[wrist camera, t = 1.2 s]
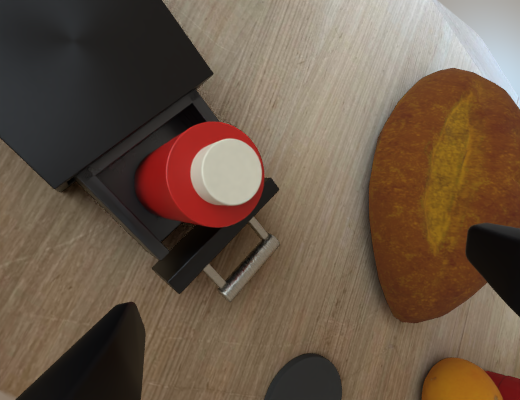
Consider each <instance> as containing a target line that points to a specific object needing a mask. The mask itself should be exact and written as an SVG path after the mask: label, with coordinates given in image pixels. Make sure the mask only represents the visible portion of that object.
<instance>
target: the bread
mask: <svg viewBox="0 0 520 400" xmlns="http://www.w3.org/2000/svg"><path fill="white" fill-rule="evenodd" d="M369 220H370V228H371V236H372V243H373V251H374V256H375V261H376V267H377V272H378V278H379V281H380V284H381V287H382V290H383V293H384V295H385V298H386V301H387V303H388V305H389V307H390V309H391V312H392V314H393V316H394V317H396V318H397V319H399V320H400V321H401V322H408V323H418V322H422V321H426V320H430V319H434V318H438V317H441V316H443V315H445V314H447V313H449V312H450V311H452V310H453V309H455V308H456V307H458V306H459V305H461V304H462V303H464V302H465V301H466V300H468V299H469V298H470V297H471V296H473V295H474V294H475V293H476V292H477V291H478V290H480V289H481V288H482V287H483V286H484V285H485V284H486V283H487V281H486V280H485V279H484V278H483V277H482V275H481V274H480V273H479V272H478V271H477V270H476V269H475V268H474V266H473V265H472V264H471V263H470V262H469V261H468V259H467V257H466V253H465V249H466V241H467V233H468V229H469V228H470V227H471V226H472V225H476V224H481V223H492V224H497V225H503V226H509V227H514V228H520V109H519V108H518V106H517V105H516V104H515V102H514V101H513V99H512V98H511V97H510V96H509V94H508V93H507V92H506V91H505V90H504V89H503V88H501V87H499V86H498V85H496V84H495V83H493V82H491V81H489V80H487V79H485V78H483V77H481V76H479V75H477V74H475V73H473V72H469V71H465V70H460V69H456V68H450V69H445V70H440V71H437V72H435V73H432V74H430V75H427V76H425V77H423V78H422V79H421V80H419V81H418V82H417V83H416V84H415V85H414V86H413V87H412V88H411V89H410V90H409V91H408V92H407V93H406V94H405V95H404V96H403V97H402V98H401V100H400V101H399V102H398V103H397V105H396V107H395V108H394V110H393V112H392V113H391V115H390V117H389V118H388V120H387V122H386V123H385V125H384V127H383V129H382V131H381V133H380V135H379V137H378V141H377V145H376V150H375V155H374V161H373V166H372V172H371V178H370V183H369Z"/></svg>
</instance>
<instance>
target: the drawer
mask: <svg viewBox="0 0 520 400" xmlns="http://www.w3.org/2000/svg"><path fill="white" fill-rule="evenodd" d="M203 122H219V120H218V119H217V118H216V116H215V115H214V114H213V112H212V111H211V109H210V108H209V107H208V105H207V104H206V103H205V101H204V100H203V99H202V97H201V96H200V95H199V93H198V92H197V91H196V89H193V90H192V91H191V92H189V93H188V94H187V95H185V96H184V97H182V98H181V99H180V100H178V101H177V102H176V103H174V104H173V105H171V106H170V107H169V108H167V109H166V110H165V111H163V112H162V113H160V114H159V115H158V116H156V117H155V118H154V119H152V120H151V121H149V122H148V123H147V124H145V125H144V126H143V127H141V128H140V129H138V130H137V131H136V132H134V133H133V134H132V135H130V136H129V137H128V138H126V139H125V140H123V141H122V142H121V143H119V144H118V145H117V146H115V147H114V148H112V149H111V150H110V151H108V152H107V153H106V154H104V155H103V156H101V157H100V158H99V159H97V160H96V161H95V162H93V163H92V164H90V165H89V166H88V167H86V168H85V169H84V170H82V171H81V172H79V173H78V174H77V175H75V176H74V179H75V180H76V181H77V182H78V183H79V184H80V185H81V186H82V187H83V188H84V189H85V190H86V191H87V192H88V193H89V194H90V195H91V196H92V197H93V198H94V199H95V200H96V201H97V202H98V203H99V204H100V205H101V206H102V207H103V208H104V209H105V210H106V211H107V212H108V213H109V214H110V215H111V216H112V217H113V218H114V219H115V220H116V221H117V222H118V223H119V224H120V225H121V226H122V227H123V228H124V229H125V230H126V231H127V232H128V233H129V234H130V235H131V236H132V237H133V238H134V239H135V240H136V241H137V242H138V243H139V244H140V245H141V246H142V247H143V248H144V249H145V250H146V251H147V252H148V253H150V254H151V255H153V256H154V257H156V258H157V259H158V260H160V261H159V262H158V263H156V264H155V265H154V266H153V267H152V269H153V270H154V271H155V272H156V273H157V274H158V275H159V276H160V277H161V278H162V279H163V280H164V281H165V282H166V283H167V284H169V285H170V286H171V287H172V288H173V289H174V290H175V291H176V292H177V293H178V294H180V293H181V292H182V291H183V290H184V289H185V288H186V287H187V286H188V285H189V284H190V283H191V282H192V281H193V280H194V279H195V278H196V277H197V276H198V275H199V273H200V272H201V271H202V270H203V271H204V272H205V273H206V274H207V276H208V277H209V278H210V279H211V280H212V281H213V282H214V283H215V284H216V285H217V286H218V287H219V288H218V289H217V290H218V292H219V293H220V294H221V295H222V296H223V297H224V298H225V299H226V300H227V301H229V302H231V301H232V300H233V299H234V298H235V297H236V296H237V295H238V293H239V292H240V291H241V290H242V289H243V288H244V286H245V285H246V284H247V283H248V282H249V281H250V279H251V278H252V277H253V276H254V275H255V274H256V272H257V271H258V270H259V269H260V268H261V267H262V265H263V264H264V263H265V262H266V261H267V260H268V258H269V257H270V256H271V255H272V254H273V253H274V252H275V250H276V249H277V248H278V247H279V246H280V242H279V241H278V239H277V238H276V237H275V236H273V235H272V234H269V233H267V232H266V231H265V229H264V228H263V227H262V226H261V224H260V223H259V222H258V221H257V219H256V218H255V217H254V216H255V215H256V214H257V213H258V211H259V210H260V209H261V208H262V207H263V206H264V205H265V204H266V203H267V202H268V201H269V200H270V199H271V198H272V197H273V196H274V195H275V194H276V193H277V192H278V190H279V188H278V187H277V185H276V184H275V183H274V181H273V180H272V178H264V187H263V191H262V194H261V197H260V199H259V201H258V203H257V205H256V206H255V208H254V209H253V210H252V212H251V213H250V214H249V215H248V216H247V217H246V218H244V219H243V220H241V221H240V222H238V223H236V224H233V225H230V226H227V227H219V228H214V227H207V226H202V225H196V226H195V227H194V228H193V229H192V230H191V231H190V232H189V233H188V234H187V235H186V236H185V237H183V238H182V239H181V240H180V241H179V242H178V243H177V244H176V245H175V246H174V247H173V248H172V249H171V250H170V251H169V250H168V249H167V248H166V247H165V246H164V245H163V244H162V243H161V241H163V240H164V239H165V238H166V237H167V236H168V235H169V234H170V233H171V232H172V231H173V230H174V229H175V228H176V227H178V226H179V225H180V224H181V223H182V222H181V221H176V220H171V219H166V218H161V217H158V216H156V215H154V214H152V213H150V212H149V211H147V210H146V209H145V208H144V207H143V205H142V204H141V203H140V201H139V200H138V198H137V195H136V192H135V188H134V177H135V173H136V170H137V167H138V165H139V164H140V162H141V161H142V160H143V159H144V158H145V157H146V156H147V155H148V154H150V153H151V152H153V151H155V150H156V149H158V148H159V147H161V146H162V145H164V144H165V143H167V142H168V141H170V140H172V139H173V138H175V137H176V136H178V135H179V134H181V133H182V132H184V131H185V130H187V129H189V128H190V127H192V126H194V125H196V124H200V123H203ZM247 223H248V224H249V225H250V226H251V228H252V229H253V230H254V231H255V233H256V234H257V235H258V236H259V238H260V239H262V240H261V241H260V242H259V243H258V245H257V246H256V247H255V248H254V249H253V250H252V251H251V252H250V253H249V255H248V256H247V257H246V258H245V259H244V260H243V261H242V262H241V263H240V265H239V266H238V267H237V268H236V269H235V270H234V271H233V272H232V273H231V275H230V276H229V277H228V278H227V279H226V280H224V279H223V278H222V277H221V276H220V275H219V274H218V273H217V272H216V271H215V269H214V268H213V267H212V266H211V265H210V264H209V263H210V262H211V261H212V260H213V259H214V258H215V257H216V256H217V255H218V253H219V252H220V251H221V250H222V249H223V248H224V247H225V246H226V245H227V244H228V243H229V242H230V241H231V240H232V239H233V238H234V237H235V236H236V235H237V234H238V232H239V231H240V230H241V229H242V228H243V227H244V226H245V225H246V224H247Z"/></svg>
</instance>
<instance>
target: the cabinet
mask: <svg viewBox="0 0 520 400" xmlns="http://www.w3.org/2000/svg"><path fill="white" fill-rule="evenodd" d="M212 75H213V72H212V71H211V69H210V68H209V66H208V65H207V64H206V62H205V61H204V59H203V58H202V56H201V55H200V54H199V52H198V51H197V49H196V48H195V47H194V45H193V44H192V42H191V41H190V39H189V38H188V37H187V35H186V34H185V32H184V31H183V30H182V28H181V27H180V25H179V24H178V22H177V21H176V20H175V18H174V17H173V15H172V14H171V12H170V11H169V10H168V8H167V7H166V5H165V4H164V3H163V1H162V0H0V138H1V139H2V140H3V141H4V142H5V143H6V144H7V145H8V146H9V147H10V148H12V149H13V150H14V151H15V152H16V153H17V154H18V155H19V156H20V157H21V158H22V159H23V160H24V161H25V162H26V163H27V164H28V165H29V166H30V167H31V168H32V169H33V170H35V171H36V172H37V173H38V174H39V175H40V176H41V177H42V178H43V179H44V180H45V181H46V182H47V183H48V184H49V185H50V186H51V187H52V188H53V189H55V190H57V191H59V192H62V191H63V190H64V189H66V188H67V187H69V186H70V185H71V184H73V183H74V182H75V181H76V180H75V179H74V176H75V175H77V174H78V173H79V172H81V171H82V170H84V169H85V168H86V167H88V166H89V165H90V164H92V163H93V162H95V161H96V160H97V159H99V158H100V157H101V156H103V155H104V154H106V153H107V152H108V151H110V150H111V149H112V148H114V147H115V146H117V145H118V144H119V143H121V142H122V141H123V140H125V139H126V138H128V137H129V136H130V135H132V134H133V133H134V132H136V131H137V130H138V129H140V128H141V127H143V126H144V125H145V124H147V123H148V122H149V121H151V120H152V119H154V118H155V117H156V116H158V115H159V114H160V113H162V112H163V111H165V110H166V109H167V108H169V107H170V106H171V105H173V104H174V103H176V102H177V101H178V100H180V99H181V98H182V97H184V96H185V95H187V94H188V93H189V92H191V91H192V90H193V89H196V90H197V89H198V88H199V87H200V86H201V85H202V84H203V83H204V82H205V81H207V80H208V79H209V78H210V77H211V76H212Z"/></svg>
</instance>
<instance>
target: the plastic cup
mask: <svg viewBox="0 0 520 400" xmlns="http://www.w3.org/2000/svg"><path fill="white" fill-rule="evenodd" d="M485 372H486V373H487V375H488V376H489V377H490V378H491V379H492V381H493V382H494V383H495V385H496V386H497V388H498V390H499V391H500V393H501V396H502V398H503V400H520V379H518V378H515V377H511V376H505V375H501V374H497V373H494V372H490V371H485Z"/></svg>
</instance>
